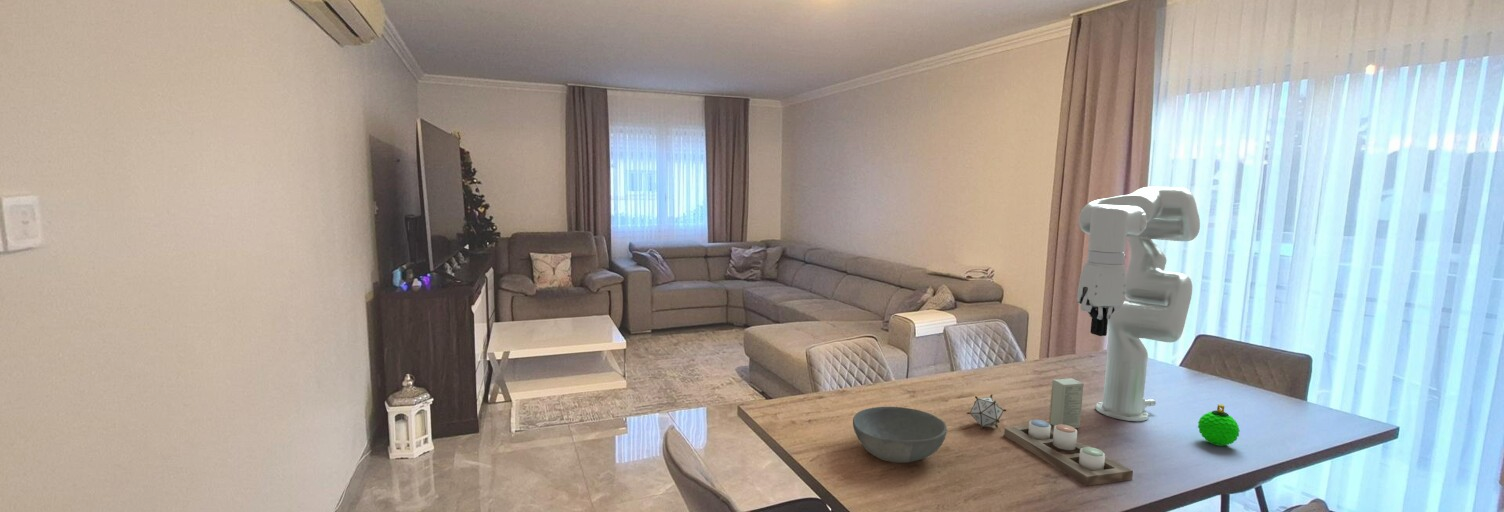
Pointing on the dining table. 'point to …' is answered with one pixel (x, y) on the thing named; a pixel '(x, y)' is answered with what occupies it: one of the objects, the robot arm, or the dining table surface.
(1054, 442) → the small jar
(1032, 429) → the small jar
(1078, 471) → the rack with square compartments
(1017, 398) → the dining table surface
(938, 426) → the bowl
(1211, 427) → the ornament
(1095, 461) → the white round cylinder
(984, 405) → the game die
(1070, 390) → the skincare box
